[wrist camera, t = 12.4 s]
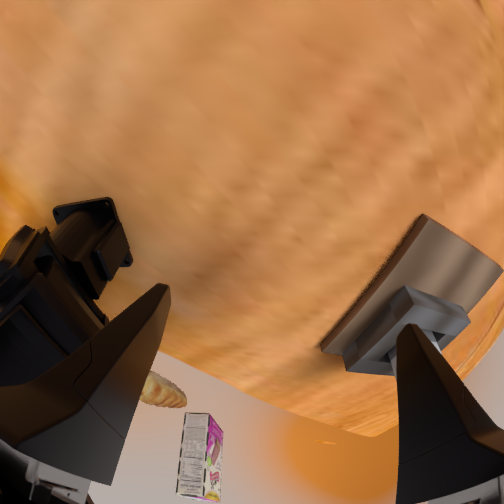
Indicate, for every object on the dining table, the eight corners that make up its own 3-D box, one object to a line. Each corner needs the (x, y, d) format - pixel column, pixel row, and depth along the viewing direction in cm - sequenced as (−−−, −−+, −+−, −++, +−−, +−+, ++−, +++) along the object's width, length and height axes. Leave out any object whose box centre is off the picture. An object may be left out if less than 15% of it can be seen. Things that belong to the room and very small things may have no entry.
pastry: (198, 392, 38) (195, 414, 35) (173, 400, 41) (169, 420, 38) (146, 365, 34) (139, 389, 31) (124, 376, 37) (118, 397, 34)
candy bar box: (225, 431, 49) (221, 502, 36) (201, 430, 50) (195, 500, 36) (211, 412, 43) (204, 499, 29) (184, 411, 43) (173, 495, 30)
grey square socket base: (320, 344, 30) (324, 371, 27) (423, 213, 20) (443, 236, 17) (412, 359, 33) (419, 379, 30) (499, 265, 23) (514, 284, 20)
